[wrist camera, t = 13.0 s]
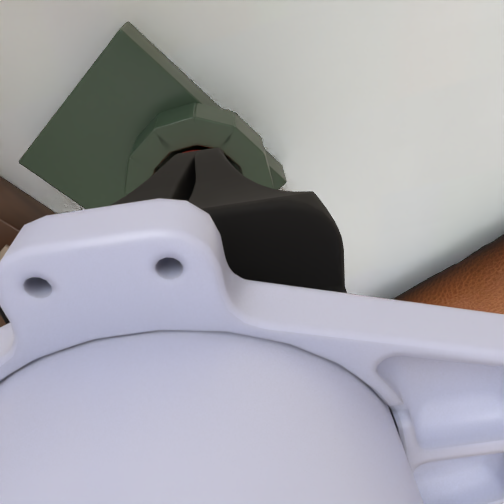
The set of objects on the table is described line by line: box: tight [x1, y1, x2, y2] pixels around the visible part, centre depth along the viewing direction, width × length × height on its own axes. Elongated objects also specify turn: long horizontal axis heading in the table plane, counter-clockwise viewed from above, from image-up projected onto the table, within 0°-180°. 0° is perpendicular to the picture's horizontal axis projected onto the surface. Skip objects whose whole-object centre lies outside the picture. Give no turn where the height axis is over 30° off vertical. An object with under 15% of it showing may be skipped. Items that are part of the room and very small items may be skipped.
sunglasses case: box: [393, 235, 504, 314], centre depth 30 cm, size 18×7×7 cm
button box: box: [19, 22, 286, 209], centre depth 22 cm, size 10×9×4 cm
